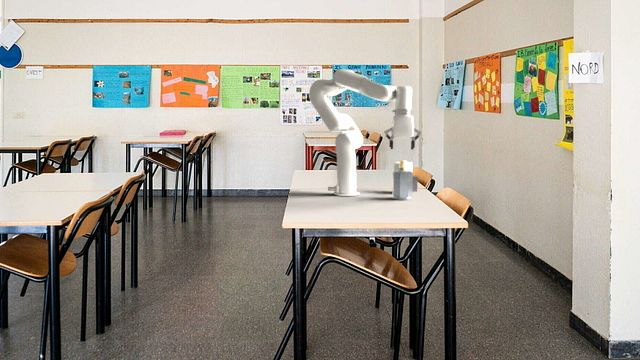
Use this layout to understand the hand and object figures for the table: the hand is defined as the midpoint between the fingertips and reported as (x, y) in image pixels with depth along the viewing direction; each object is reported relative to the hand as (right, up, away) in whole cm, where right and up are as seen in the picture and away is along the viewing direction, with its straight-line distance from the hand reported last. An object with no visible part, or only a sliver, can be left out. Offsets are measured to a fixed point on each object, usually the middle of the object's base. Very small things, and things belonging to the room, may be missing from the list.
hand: (401, 149), depth 297 cm
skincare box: (+4, -21, +22) cm, 31 cm away
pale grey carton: (+2, -23, +2) cm, 24 cm away
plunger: (+1, -21, +2) cm, 21 cm away
